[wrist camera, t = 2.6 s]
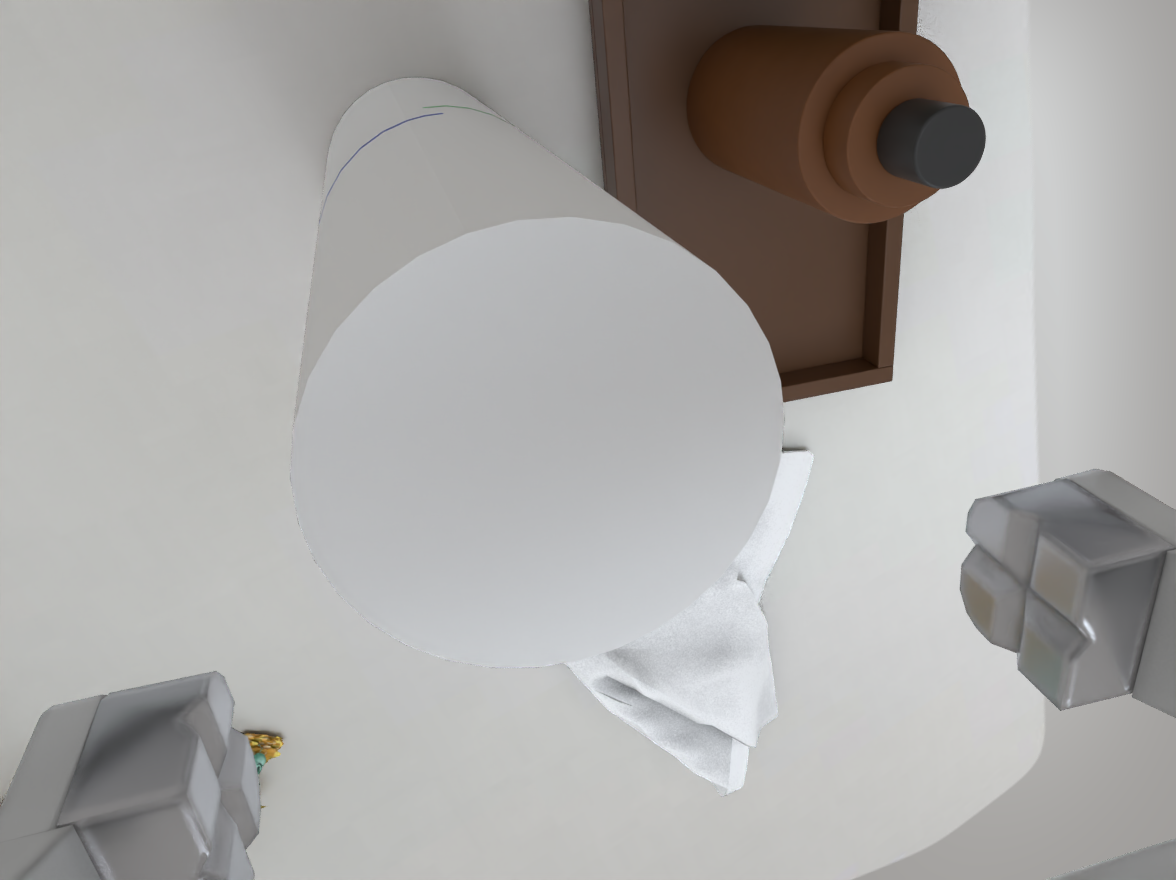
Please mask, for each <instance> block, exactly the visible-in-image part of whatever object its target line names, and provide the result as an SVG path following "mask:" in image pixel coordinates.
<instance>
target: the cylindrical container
mask: <svg viewBox="0 0 1176 880" xmlns="http://www.w3.org/2000/svg"><path fill="white" fill-rule="evenodd" d="M784 423H785V417H784V407H783V397H782V387H781V380H780V376H779V373H778V370H777V367H776V364H775V360H774V357H773V354H772V351H771V347H770V344H769V342H768V340H767V338H766V337H765V335H764V333H763V331H762V330H761V328H760V326H759V324H758V323H757V321H756V319H755V317H754V315H753V314H752V312H751V310H750V308H749V307H748V305H747V304H746V303H745V302H744V301H743V300H742V299H741V298H740V296H739V295H738V294H737V293H736V292H735V291H734V290H733V289H732V288H731V287H730V286H729V284H728V283H727V282H726V281H725V280H724V279H723V278H722V277H721V276H720V275H719V274H718V273H717V271H715V270H714V269H713V268H711V267H710V266H708V265H707V264H706V263H704V262H703V261H701V260H700V259H699V258H697V257H696V256H695V255H693V254H692V253H690V252H689V251H688V250H686V249H685V248H683V247H682V246H681V245H679V244H678V243H676V242H675V241H674V240H672V239H671V238H670V237H668V236H667V235H665V234H664V233H663V232H661V231H660V230H658V229H657V228H656V227H654V226H653V225H651V224H650V223H649V222H647V221H646V220H645V219H643V218H642V217H640V216H639V215H638V214H636V213H635V212H633V211H632V210H631V209H629V208H628V207H627V206H625V205H624V204H622V203H621V202H620V201H618V200H617V199H615V198H614V197H613V196H611V195H610V194H608V193H607V192H606V191H604V190H603V189H602V188H600V187H599V186H597V185H596V184H595V183H593V182H592V181H590V180H589V179H588V178H586V177H585V176H584V175H582V174H581V173H579V172H578V171H577V170H575V169H574V168H572V167H571V166H570V165H568V164H567V163H565V162H564V161H563V160H561V159H560V158H559V157H557V156H556V155H554V154H553V153H552V152H550V151H549V150H547V149H546V148H545V147H543V146H542V145H541V144H539V143H538V142H536V141H535V140H534V139H532V138H531V137H529V136H528V135H527V134H525V133H524V132H522V131H521V130H519V129H518V128H517V127H515V126H514V125H512V124H511V123H509V122H508V121H507V120H505V119H504V118H502V117H501V116H500V115H498V114H497V113H495V112H494V111H493V110H491V109H490V108H488V107H487V106H486V105H484V104H483V103H481V102H480V101H479V100H477V99H476V98H474V97H473V96H471V95H470V94H468V93H467V92H465V91H464V90H462V89H461V88H458V87H456V86H454V85H451V84H449V83H446V82H444V81H440V80H435V79H429V78H424V77H418V78H401V79H397V80H393V81H389V82H386V83H383V84H381V85H379V86H377V87H375V88H373V89H371V90H369V91H368V92H366V93H365V94H364V95H362V96H361V97H360V98H358V99H357V100H356V101H355V102H354V103H353V104H352V105H351V106H350V108H349V109H348V110H347V111H346V112H345V113H344V115H343V116H342V118H341V120H340V122H339V123H338V125H337V127H336V129H335V131H334V133H333V136H332V140H331V143H330V147H329V150H328V156H327V163H326V171H325V179H324V187H323V195H322V203H321V211H320V219H319V227H318V234H317V242H316V250H315V258H314V265H313V273H312V281H311V289H310V296H309V304H308V312H307V320H306V328H305V336H304V344H303V352H302V360H301V368H300V375H299V383H298V391H297V399H296V407H295V415H294V423H293V433H292V451H291V469H290V481H291V486H292V492H293V498H294V503H295V509H296V514H297V520H298V524H299V526H300V528H301V531H302V533H303V536H304V538H305V540H306V543H307V545H308V547H309V550H310V552H311V554H312V557H313V559H314V561H315V563H316V564H317V565H318V567H319V568H320V570H321V571H322V573H323V574H324V575H325V577H326V578H327V580H328V581H329V582H330V584H331V585H332V587H333V588H334V590H335V591H336V592H337V594H338V595H339V596H340V597H341V598H342V599H344V600H345V601H346V602H347V603H348V604H349V605H350V606H351V607H352V608H353V609H354V610H355V611H356V612H358V613H359V614H360V615H361V616H362V617H363V618H364V619H365V620H366V621H367V622H368V623H370V624H371V625H373V626H375V627H376V628H378V629H380V630H381V631H383V632H385V633H386V634H388V635H390V636H391V637H393V638H395V639H396V640H398V641H399V642H401V643H403V644H404V645H406V646H409V647H411V648H414V649H417V650H420V651H423V652H425V653H428V654H431V655H434V656H436V657H439V658H442V659H445V660H447V661H452V662H458V663H464V664H470V665H477V666H483V667H489V668H539V667H545V666H551V665H557V664H563V663H569V662H575V661H580V660H583V659H586V658H589V657H592V656H596V655H599V654H602V653H605V652H608V651H611V650H614V649H617V648H619V647H622V646H624V645H626V644H628V643H630V642H632V641H634V640H636V639H638V638H640V637H642V636H644V635H646V634H648V633H650V632H652V631H654V630H656V629H657V628H659V627H660V626H662V625H663V624H665V623H666V622H667V621H669V620H670V619H672V618H673V617H675V616H676V615H678V614H679V613H681V612H682V611H684V610H685V609H687V608H688V607H689V606H690V605H692V604H693V603H694V602H695V601H696V600H697V599H698V598H699V597H700V596H701V595H702V594H703V593H704V592H705V591H706V590H708V589H709V588H710V587H711V586H712V585H713V584H714V583H715V582H716V581H717V580H718V579H719V578H720V577H721V576H722V575H723V574H724V572H725V571H726V570H727V569H728V567H729V566H730V565H731V563H732V562H733V561H734V559H735V558H736V557H737V555H738V554H739V553H740V551H741V550H742V549H743V548H744V546H745V545H746V544H747V542H748V541H749V539H750V537H751V535H752V533H753V531H754V529H755V527H756V525H757V523H758V522H759V520H760V518H761V516H762V514H763V512H764V510H765V508H766V506H767V504H768V502H769V499H770V495H771V492H772V489H773V485H774V482H775V479H776V475H777V472H778V469H779V465H780V462H781V454H782V444H783V433H784Z"/></svg>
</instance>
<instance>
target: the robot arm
mask: <svg viewBox="0 0 1176 880" xmlns="http://www.w3.org/2000/svg"><path fill="white" fill-rule="evenodd" d="M966 533H967V534H968V535H969V537H970V538H971V539H972V541H973V542H974V543H975V547H974V548H973V549H972V551H971V552H970V553H969V555H968V556H967V558H966V559H965V560H964V562H963V563H962V566H961V580H960V591H961V595H962V598H963V602H964V605H965V609H966V612H967V614H968V615H969V617H970V619H971V620H972V622H973V624H974V625H975V627H976V628H977V630H978V631H979V632H980V633H981V634H982V635H983V636H984V637H985V638H986V639H987V640H988V641H989V642H990V643H992V644H994V645H997V646H1000V647H1002V648H1005V649H1007V650H1010V651H1013V652H1015V653H1017V665H1018V670H1019V671H1020V672H1021V673H1022V674H1023V675H1024V676H1025V677H1026V678H1027V679H1028V680H1029V681H1030V682H1031V683H1032V684H1033V685H1034V686H1035V687H1036V688H1037V689H1038V690H1039V691H1040V692H1041V693H1043V694H1044V695H1045V696H1046V697H1047V698H1048V699H1049V700H1050V701H1051V702H1052V703H1053V704H1054V705H1055V706H1056V707H1057V708H1058V709H1059V710H1060V711H1061V710H1065V709H1069V708H1073V707H1077V706H1082V705H1086V704H1090V703H1093V702H1098V701H1102V700H1106V699H1110V698H1114V697H1118V696H1122V695H1126V694H1130V693H1133V694H1132V697H1133V698H1135V699H1137V700H1139V701H1141V702H1144V703H1145V704H1147V705H1150V706H1152V707H1154V708H1156V709H1158V710H1160V711H1162V712H1164V713H1167V714H1168V715H1170V716H1173V717H1175V718H1176V510H1175V509H1173V508H1171V507H1169V506H1168V505H1166V504H1164V503H1163V502H1161V501H1159V500H1158V499H1156V498H1154V497H1153V496H1151V495H1149V494H1148V493H1146V492H1144V491H1143V490H1141V489H1139V488H1138V487H1136V486H1134V485H1132V484H1131V483H1129V482H1127V481H1125V480H1124V479H1122V478H1121V477H1119V476H1117V475H1116V474H1114V473H1112V472H1110V471H1104V470H1099V469H1093V470H1089V471H1085V472H1081V473H1077V474H1073V475H1069V476H1066V477H1062V478H1058V479H1055V480H1054V481H1052V482H1048V483H1043V484H1039V485H1035V486H1031V487H1026V488H1022V489H1018V490H1013V491H1009V492H1005V493H1000V494H996V495H992V496H988V497H983V498H979V499H975V501H974V503H973V505H972V506H971V508H970V510H969V512H968V517H967V524H966ZM234 704H235V702H234V699H233V697H232V694H231V692H230V690H229V687H228V685H227V682H226V680H225V677H224V676H223V675H221V674H220V673H218V672H217V671H214V672H209V673H204V674H199V675H194V676H189V677H184V678H180V679H175V680H170V681H165V682H160V683H155V684H151V685H146V686H141V687H136V688H131V689H126V690H121V691H117V692H112V693H109V694H108V695H99V696H94V697H90V698H85V699H81V700H76V701H72V702H67V703H63V704H58V705H54V706H52V707H51V708H49V709H48V710H47V711H45V712H44V713H43V714H42V715H41V716H40V718H39V720H38V722H37V725H36V727H35V729H34V732H33V734H32V736H31V738H30V741H29V743H28V745H27V748H26V750H25V752H24V754H23V757H22V759H21V761H20V764H19V766H18V768H17V770H16V773H15V775H14V777H13V780H12V782H11V784H10V787H9V789H8V791H7V793H6V796H5V798H4V800H3V803H2V805H1V807H0V880H254V874H255V873H254V870H253V868H252V865H251V863H250V860H249V857H248V855H247V852H246V849H247V848H248V846H249V845H250V844H251V842H252V841H253V840H254V839H255V837H256V836H257V835H258V834H259V824H260V812H261V803H260V788H259V777H258V772H257V768H256V763H255V758H254V754H253V752H252V749H251V746H250V743H249V740H248V737H247V736H246V735H244V734H242V733H240V732H239V731H237V730H235V729H234V728H232V727H231V724H232V718H233V711H234ZM1045 880H1176V838H1175V839H1172V840H1169V841H1165V842H1162V843H1159V844H1156V845H1153V846H1150V847H1147V848H1143V849H1140V850H1137V851H1134V852H1131V853H1127V854H1124V855H1121V856H1118V857H1115V858H1112V859H1109V860H1105V861H1102V862H1099V863H1096V864H1093V865H1089V866H1087V867H1083V868H1080V869H1077V870H1074V871H1071V872H1068V873H1064V874H1061V875H1058V876H1055V877H1052V878H1049V879H1045Z"/></svg>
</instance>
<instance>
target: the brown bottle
mask: <svg viewBox="0 0 1176 880" xmlns="http://www.w3.org/2000/svg"><path fill="white" fill-rule="evenodd" d="M687 118H688V123H689V128H690V131H691V134H692V137H693V139H694V141H695V143H696V145H697V146H698V148H699V149H700V150H701V152H702V153H703V154H704V155H705V156H706V157H707V158H708V159H709V160H710V161H711V162H713V163H714V164H715V165H717V166H719V167H721V168H723V169H725V170H727V171H730V172H732V173H734V174H737V175H739V176H741V177H744V178H746V179H748V180H751V181H753V182H755V183H758V184H760V185H762V186H765V187H767V188H769V189H772V190H774V191H776V192H779V193H781V194H783V195H786V196H788V197H790V198H793V199H795V200H797V201H799V202H802V203H804V204H806V205H809V206H811V207H813V208H816V209H818V210H820V211H823V212H825V213H827V214H830V215H832V216H834V217H837V218H839V219H842V220H844V221H848V222H853V223H863V224H868V223H877V222H882V221H886V220H889V219H892V218H894V217H897V216H899V215H901V214H903V213H905V212H907V211H908V210H910V209H911V208H913V207H914V206H916V205H917V204H918V203H920V202H921V201H923V200H925V199H927V198H929V197H930V196H932V195H933V194H934V193H936V192H937V191H938V190H939V189H945V188H949V187H952V186H955V185H957V184H959V183H961V182H962V181H964V180H965V179H966V178H967V177H968V176H969V175H970V174H971V173H972V172H973V171H974V170H975V168H976V167H977V165H978V164H979V162H980V160H981V157H982V155H983V152H984V148H985V140H986V135H985V128H984V125H983V122H982V120H981V118H980V117H979V115H978V114H977V113H976V112H975V111H974V110H973V109H971V108H969V103H968V100H967V97H966V94H965V92H964V90H963V89H962V87H961V84H960V81H959V78H958V75H957V72H956V70H955V68H954V66H953V65H952V63H951V61H950V60H949V59H948V57H947V56H946V54H945V53H944V52H943V51H942V50H941V49H940V48H939V47H938V46H936V45H935V44H934V43H932V42H931V41H930V40H928V39H926V38H924V37H922V36H920V35H916V34H913V33H909V32H901V31H885V30H863V29H841V28H819V27H797V26H775V25H750V26H745V27H742V28H739V29H736V30H733V31H732V32H730V33H728V34H726V35H724V36H723V37H722V38H720V39H719V40H718V41H716V42H715V43H714V44H713V45H712V46H711V47H710V48H709V49H708V51H707V52H706V53H705V54H704V56H703V57H702V59H701V60H700V62H699V63H698V65H697V67H696V69H695V71H694V74H693V76H692V79H691V82H690V86H689V90H688V96H687Z"/></svg>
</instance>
